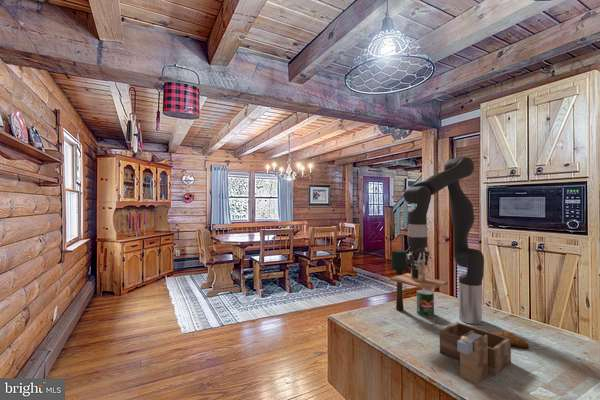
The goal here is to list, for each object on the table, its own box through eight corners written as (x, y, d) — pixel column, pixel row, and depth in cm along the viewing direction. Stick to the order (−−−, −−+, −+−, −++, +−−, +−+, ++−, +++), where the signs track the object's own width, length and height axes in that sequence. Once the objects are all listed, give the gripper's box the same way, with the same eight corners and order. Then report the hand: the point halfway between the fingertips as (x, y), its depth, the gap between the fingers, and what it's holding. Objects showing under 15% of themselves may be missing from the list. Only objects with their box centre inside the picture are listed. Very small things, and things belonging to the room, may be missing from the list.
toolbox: (457, 342, 117) (457, 310, 117) (510, 362, 103) (510, 325, 103) (426, 360, 104) (425, 324, 104) (482, 386, 90) (481, 344, 90)
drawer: (472, 341, 98) (472, 328, 98) (482, 345, 95) (482, 331, 95) (457, 350, 92) (457, 337, 92) (467, 354, 90) (467, 340, 90)
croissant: (485, 341, 119) (485, 328, 119) (489, 335, 124) (488, 323, 124) (527, 353, 109) (527, 339, 109) (530, 346, 114) (530, 333, 114)
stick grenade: (410, 313, 148) (409, 252, 148) (391, 312, 149) (391, 252, 150) (407, 307, 156) (406, 249, 156) (390, 306, 158) (389, 249, 158)
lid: (408, 275, 133) (408, 259, 133) (447, 284, 119) (447, 266, 119) (390, 280, 126) (389, 263, 126) (430, 290, 112) (429, 271, 112)
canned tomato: (425, 310, 152) (424, 288, 152) (437, 315, 145) (437, 292, 145) (413, 312, 149) (412, 290, 149) (425, 318, 142) (425, 294, 142)
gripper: (419, 233, 130) (419, 273, 130) (399, 235, 121) (399, 278, 121) (435, 234, 124) (436, 276, 124) (415, 237, 115) (416, 282, 115)
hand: (418, 277), depth 122 cm, fingers closed on lid, 3 cm apart
